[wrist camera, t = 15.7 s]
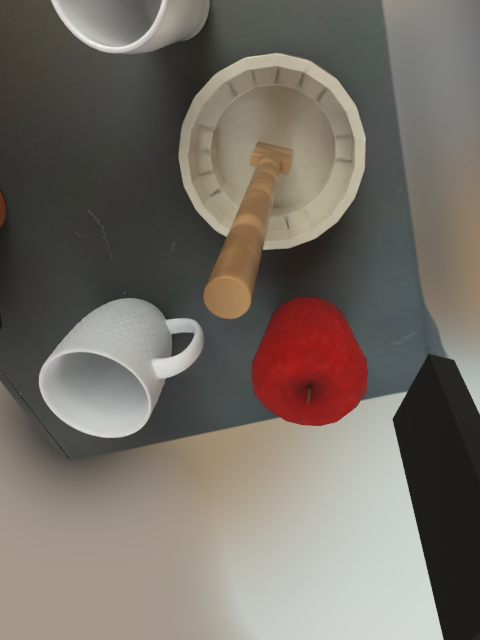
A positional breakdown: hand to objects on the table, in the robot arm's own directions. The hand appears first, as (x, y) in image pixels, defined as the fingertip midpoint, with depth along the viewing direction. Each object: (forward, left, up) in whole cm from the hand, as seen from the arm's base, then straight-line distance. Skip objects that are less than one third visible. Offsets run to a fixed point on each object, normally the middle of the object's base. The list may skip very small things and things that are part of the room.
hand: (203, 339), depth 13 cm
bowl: (0, 0, -31) cm, 31 cm away
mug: (+22, -10, -31) cm, 40 cm away
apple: (+17, +8, -31) cm, 37 cm away
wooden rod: (0, 0, -30) cm, 30 cm away
